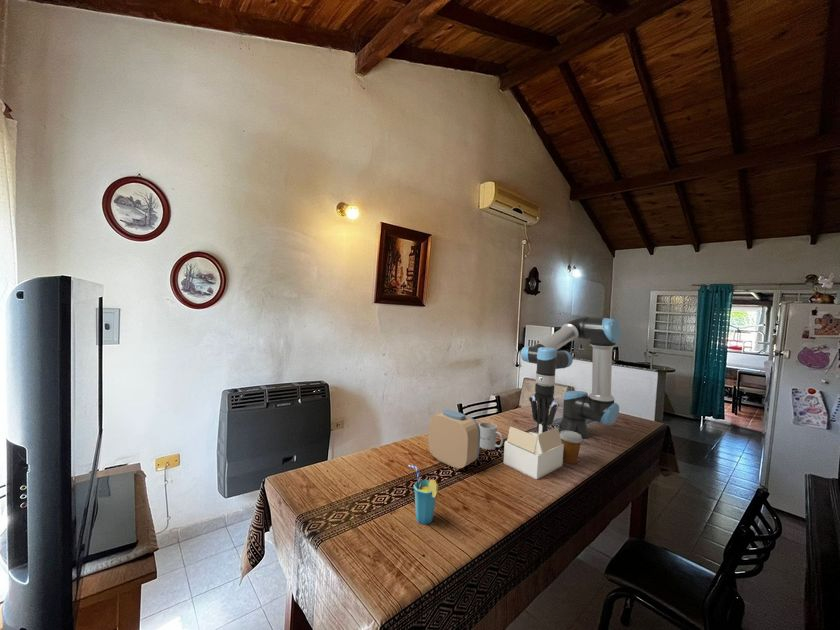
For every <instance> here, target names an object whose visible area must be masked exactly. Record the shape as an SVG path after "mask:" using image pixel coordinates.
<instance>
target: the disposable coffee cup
mask: <svg viewBox="0 0 840 630" xmlns="http://www.w3.org/2000/svg"><path fill="white" fill-rule="evenodd" d="M559 434H560V438H561V442H562V444H564V448H563V462H564V463H566V464H567V463H568V464H573V465H574V464H577V463H578V458H579V454H580V448H581V445H582V442H583V439H582V436H581V435H580V434H579V433H576V432H573V431H561V433H560V432H559Z"/></svg>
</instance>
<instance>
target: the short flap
mask: <svg viewBox="0 0 840 630" xmlns="http://www.w3.org/2000/svg"><path fill="white" fill-rule="evenodd" d="M526 432H527V431H523V430H521V429H518V428H516V427H513V426H510V425H509V430H508V435H507V439H506V441H507V442H510V443H512V444H514V445H517V446H519V447H521V448H524V449H526V450H528V451H531V452H533V453H535V449H536V444H537V439H538V437H537V436H534V435H532V434H529V432H527V433H526Z"/></svg>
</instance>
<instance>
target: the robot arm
mask: <svg viewBox="0 0 840 630" xmlns="http://www.w3.org/2000/svg"><path fill="white" fill-rule="evenodd" d="M621 337H622V330H621V325H620V323H619V322H618V320H616V319H613V318H608V317H593V316H592V317H589V316H582V317H578V318H575V319H574V318H573V319H571V320H570V321H568V322H565V323H564V324H562V326H561V327H560V329H558V330H556V331H555V332H554V333H552V334H550V335H549V336H547V337H546V338H545V339H542V340H541V341H540V342H538V343H536V344H534V345H533V346H530V345H528V346H527V345H525V346H524V347H522V348H521V352H520V358H521V360H522V361H523V362H526V363H529V364H530V363H531V364H535V365H536V372H535V373H536V374H535V385H534V392H535V393H534V394H533V396H530V397H528V400H529V402H530V405H531V412H532V414H531V415H532V419H533V421H535V422H536V423H537V424H536V425H537V427H536V429H537V431H538V432H537V434H541V433H543V432H546V431H548V426H551V425H552V424H553V422H554V420H555V415H556V413H557V409H558V408H559V407H560V403H557V402H556V401H555V397H554V395H555V383H556V370H561V369H566V368H569V367H570V366H572V365H573V361H574V360H573V359H574V358H573V356H572V354H571V353H570V352H569V351H567V350H559V349H561V348H562V347H563V346H566V345H567V344H568V343H569V342H574V341H576V340H578V339H579V340H580V339H581V340H582V339H583V340H589V346H590V347H592V370H591V371H592V372H591V374H592V375H591V376H592V378H591V392H590V393H589V394H588V392H586V391H584V390H568V391H565V392H564V393H563V394H564V395H563V404H562V405H563V407H562V418H561V421H560V423H559V425H558V430H559V434H560V433H561V431H573V432H576V433H579V434H580V435H581V436H582V440H583V439H587V438H589V435H590V434H589V433H590V432H589V428H588V424H587V420H590V421H593V422H597V423H599V424H602V425H606V426H610V425H613V424H614V423H615V422H616V421H617V418H618V417H619V413H620V405H619V404H618V403H617V402H615V397H614V396H613V394H612V372H613V371H612V369H613V368H612V365H613V364H612V363H613V360H612V359H613V358H612V357H613V348H614V347H616V344H617V343H619V342H620V340H621ZM550 408H551V409H550Z"/></svg>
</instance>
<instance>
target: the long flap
mask: <svg viewBox="0 0 840 630" xmlns="http://www.w3.org/2000/svg"><path fill="white" fill-rule="evenodd" d="M537 434H538V433H537ZM538 439H539V444H540V448H541V452H542V453H544V452H546V451H548V450H551V449H553V448H555V447H557V446H559V445H562V442H561V438H560V432H559V426H557V427H554V428H551V429H549V430H547V431H546V432H543V433H541V434H538Z"/></svg>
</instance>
